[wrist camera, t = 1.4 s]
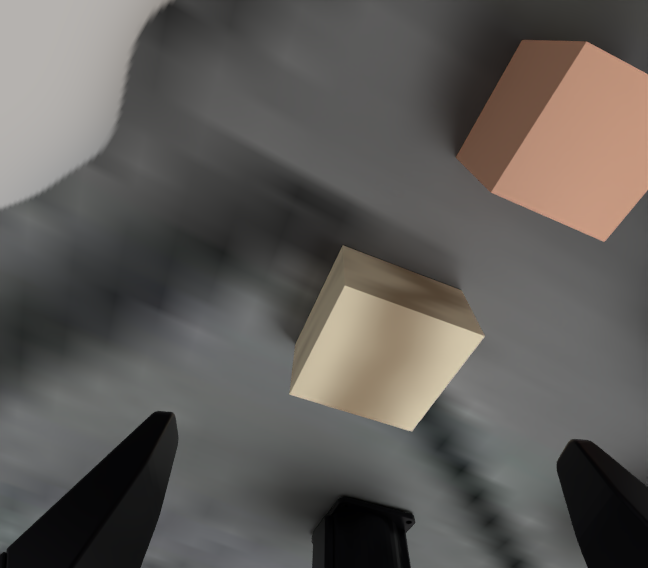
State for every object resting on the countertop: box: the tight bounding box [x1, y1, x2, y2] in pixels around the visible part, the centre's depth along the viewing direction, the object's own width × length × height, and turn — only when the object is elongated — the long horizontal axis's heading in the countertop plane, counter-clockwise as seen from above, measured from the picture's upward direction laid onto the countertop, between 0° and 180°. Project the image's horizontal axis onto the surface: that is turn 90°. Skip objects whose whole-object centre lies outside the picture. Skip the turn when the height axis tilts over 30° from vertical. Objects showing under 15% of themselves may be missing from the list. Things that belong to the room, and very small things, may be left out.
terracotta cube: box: [456, 40, 648, 242], centre depth 16 cm, size 5×5×5 cm
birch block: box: [289, 245, 485, 431], centre depth 22 cm, size 7×7×4 cm
